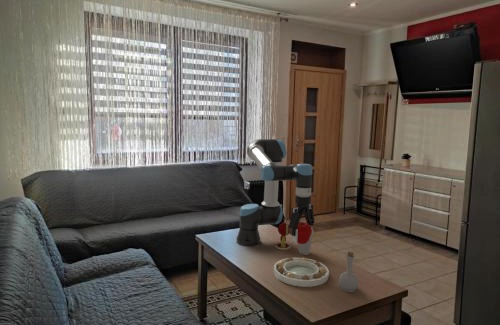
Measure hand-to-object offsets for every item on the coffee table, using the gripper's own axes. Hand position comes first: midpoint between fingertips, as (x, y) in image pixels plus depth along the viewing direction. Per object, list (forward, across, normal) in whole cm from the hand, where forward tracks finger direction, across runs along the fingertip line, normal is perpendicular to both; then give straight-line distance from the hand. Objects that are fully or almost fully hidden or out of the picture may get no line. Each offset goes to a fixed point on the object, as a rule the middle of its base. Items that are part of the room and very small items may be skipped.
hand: (301, 239), depth 172 cm
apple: (+2, 0, 0) cm, 2 cm away
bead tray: (+18, 0, 0) cm, 18 cm away
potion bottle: (+18, +6, -24) cm, 31 cm away
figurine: (+18, +21, +31) cm, 42 cm away
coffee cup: (+18, +24, +17) cm, 35 cm away
